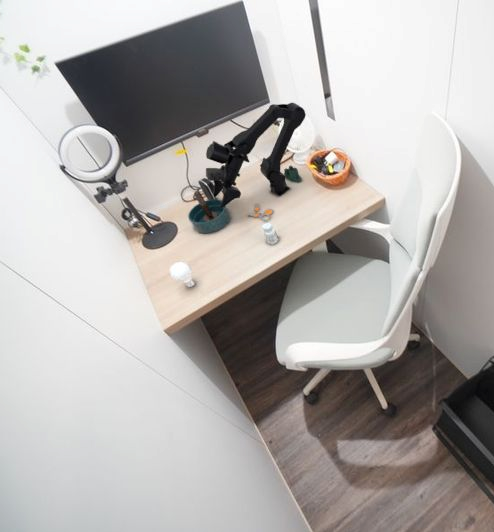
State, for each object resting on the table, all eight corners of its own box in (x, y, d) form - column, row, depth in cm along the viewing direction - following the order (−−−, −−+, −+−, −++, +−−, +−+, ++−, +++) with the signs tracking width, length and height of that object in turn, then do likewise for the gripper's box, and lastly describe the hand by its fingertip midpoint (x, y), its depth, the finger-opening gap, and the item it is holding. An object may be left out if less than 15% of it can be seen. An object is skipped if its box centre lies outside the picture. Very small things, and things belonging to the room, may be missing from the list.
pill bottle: (280, 238, 125) (275, 223, 119) (273, 245, 122) (267, 231, 116) (272, 235, 126) (266, 220, 120) (265, 242, 124) (258, 227, 118)
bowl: (217, 205, 143) (211, 195, 138) (238, 218, 136) (232, 207, 131) (188, 225, 136) (181, 214, 131) (208, 239, 129) (201, 228, 124)
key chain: (277, 213, 135) (276, 211, 134) (264, 223, 131) (264, 221, 131) (256, 203, 140) (256, 202, 140) (244, 213, 137) (243, 212, 136)
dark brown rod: (214, 214, 138) (198, 185, 127) (222, 219, 135) (206, 190, 124) (203, 222, 135) (185, 193, 124) (210, 227, 133) (193, 198, 121)
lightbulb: (185, 279, 116) (169, 259, 107) (202, 276, 116) (187, 256, 107) (180, 293, 112) (163, 273, 103) (198, 291, 111) (182, 271, 103)
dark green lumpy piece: (304, 179, 149) (301, 170, 145) (297, 184, 147) (294, 174, 144) (289, 172, 155) (286, 162, 151) (282, 176, 153) (279, 167, 149)
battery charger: (223, 202, 144) (212, 180, 135) (216, 206, 142) (205, 185, 134) (215, 196, 147) (204, 175, 139) (208, 201, 146) (196, 180, 137)
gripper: (205, 151, 126) (191, 185, 131) (220, 170, 115) (205, 207, 120) (231, 160, 134) (218, 193, 139) (248, 180, 123) (232, 214, 129)
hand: (218, 201), depth 132 cm, fingers open, 9 cm apart
